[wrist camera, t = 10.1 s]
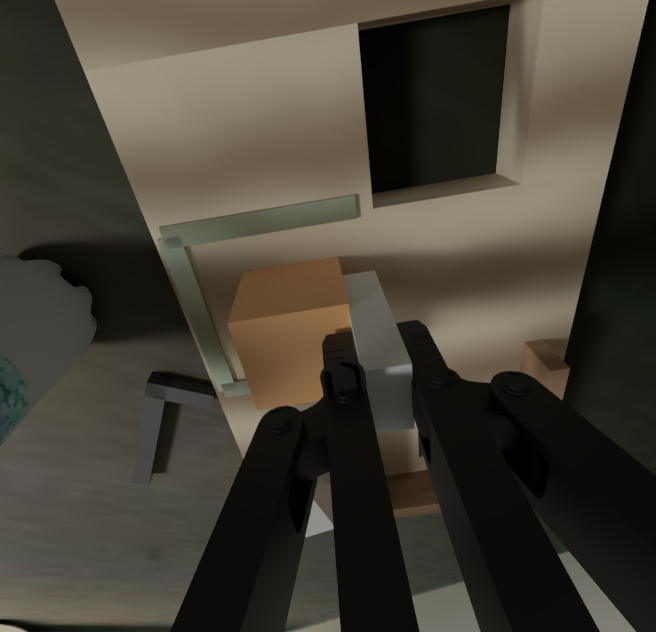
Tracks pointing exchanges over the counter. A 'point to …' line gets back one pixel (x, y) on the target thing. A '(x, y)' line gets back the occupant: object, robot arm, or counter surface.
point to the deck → (358, 168)
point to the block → (321, 508)
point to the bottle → (37, 333)
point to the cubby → (416, 487)
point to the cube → (287, 328)
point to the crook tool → (153, 414)
